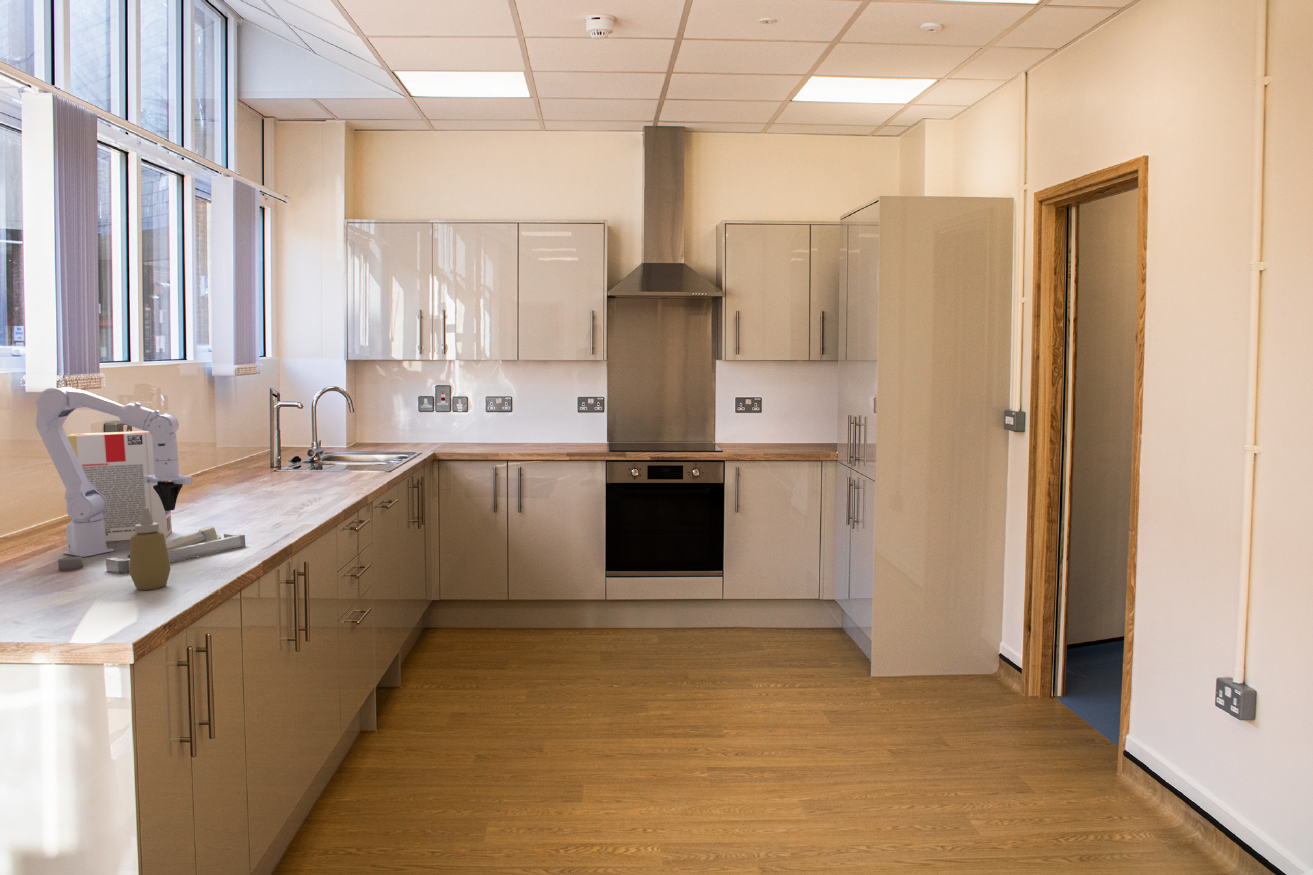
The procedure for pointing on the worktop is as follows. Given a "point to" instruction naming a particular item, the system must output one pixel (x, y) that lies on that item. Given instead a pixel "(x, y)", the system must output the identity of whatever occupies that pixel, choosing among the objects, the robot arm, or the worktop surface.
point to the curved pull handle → (184, 552)
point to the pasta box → (122, 479)
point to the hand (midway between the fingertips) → (169, 510)
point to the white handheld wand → (193, 538)
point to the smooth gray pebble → (70, 563)
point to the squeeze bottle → (148, 555)
